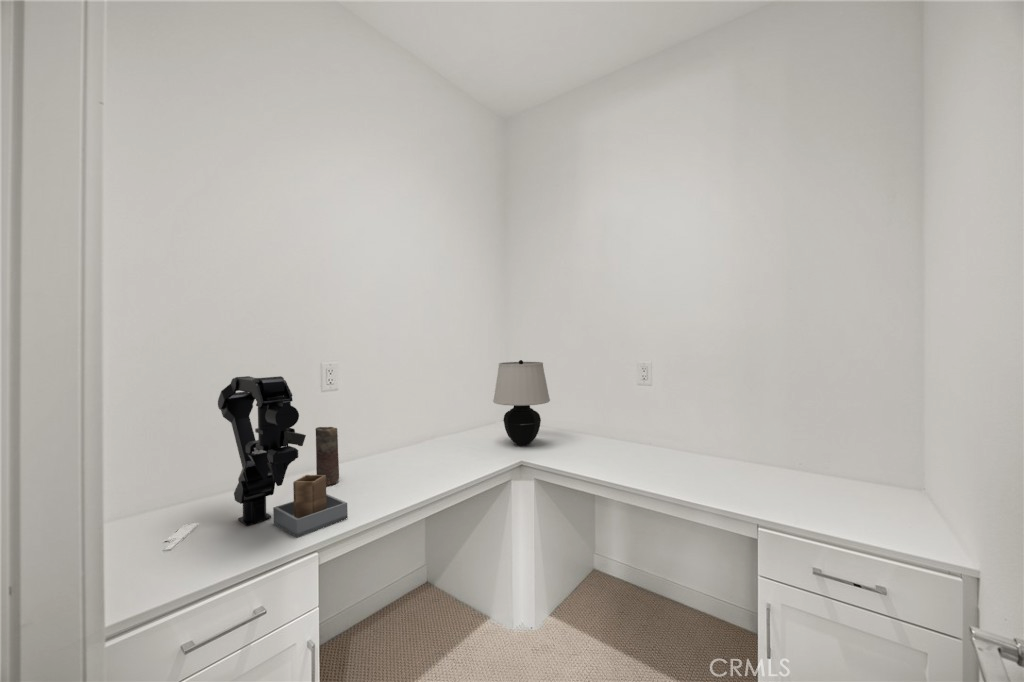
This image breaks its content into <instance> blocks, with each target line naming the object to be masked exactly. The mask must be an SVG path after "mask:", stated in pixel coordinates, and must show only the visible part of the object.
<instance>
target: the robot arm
mask: <svg viewBox="0 0 1024 682" xmlns="http://www.w3.org/2000/svg"><path fill="white" fill-rule="evenodd" d="M230 381H231V382H230V383H229V384H228V385H227V386H225V387H224V388H223V389H222V390H220V394H219V397H218V399H217V407H218V409H219V410H220V412H221V416H222V417H223V418H224V419H225V420H227V421H228V422H229V423H230V424H231V427H232V431H233V434H234V435H233V436H234V440H235V443H236V447H237V451H238V455H239V460H240V464H241V471H240V474H239V476H238V478H237V479H238V483H237V484H236V487H235V489H234V492H233V496H234V501H236V503H239V504H240V505H241V504H242V516H240V517H239V518H237V519H238V520H237V521H239V522H241V523H242V524H243V525H244V526H250V525H253V524H256V523H260V522H262V521H265V520H268V519H271V518H272V515H271V514H269V513H267V497H269V496H273V495H274V492H275V489H276V488H275V487H276V486H277V487H280V486H282V485H283V483H284V479H285V476H286V473H287V470H288V467H289V465H290V464H291V463H292V462H294V461H295V460H296V459H298V458H299V450H298V449H297V448H296V447H293V446H291V445H296V446H298V447H303V445H304V442H305V440H306V436H307V434H304V433H300V432H296V430H295V428H293V427H294V426H295V425H296V424H297V423H298V421H299V417H300V414H299V411H298V409H297V408H296V407H295V406H293V405H292V403H291V402H293V393H292V391H291V389H290V386H289V385H288V382H287V381H286V379H285V377H283V376H281V375H280V376H269V377H253V376H249V375H248V376H236V377H233V378H232V379H231V380H230ZM255 401H256V404H255V406H256V407H257V428H255V433H256V434H257V435H258V437H257V438H258V439H256V437H255V434H254V428H253V426H252V422H251V418H250V414H251V413H252V411H253V408H254V402H255ZM275 485H276V486H275Z"/></svg>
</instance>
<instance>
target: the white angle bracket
mask: <svg viewBox="0 0 1024 682" xmlns="http://www.w3.org/2000/svg"><path fill="white" fill-rule="evenodd" d="M188 524H189V523H187V524H185V525H186V526H184V525H182V526H183V527H182V526H181V527H182V528H180V527H179V528H180V529H179V528H178V529H179V530H178V529H177V530H178V531H177V530H176V531H177V532H176V533H174V532H173V533H174V534H173V533H172V534H173V535H172V534H171V535H172V536H171V535H170V536H171V537H169V538H168V537H167V538H168V539H167V538H166V539H167V540H166V539H165V540H166V541H168V542H167V543H169V545H168V546H166V547H165V548H164V549H162V552H163V551H166V552H171V551H172V550H174V549H175V546H176V545H177V544H178V543H179V542H180V541H181V540H182V539H183V540H184V539H185V538H186V537H185V536H186V535H188V534H189V532H191V531H192V530H193V529H194V528H195V527H196V526H197V525H198V524H199V525H200V522H196V523H195V522H194V523H190V524H191V525H188ZM197 527H198V526H197ZM197 527H196V528H197ZM196 528H195V529H196ZM195 529H194V530H195ZM194 530H193V531H194ZM193 531H192V532H193ZM192 532H191V533H192ZM189 535H190V534H189ZM189 535H188V536H189ZM184 537H185V538H184ZM172 539H175V540H172ZM171 540H172V541H173V542H172V541H171ZM183 540H182V541H183ZM170 541H171V542H170ZM182 541H181V542H182ZM181 542H180V543H181ZM180 543H179V544H180ZM179 544H178V545H179ZM178 545H177V546H178ZM177 546H176V547H177Z"/></svg>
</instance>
